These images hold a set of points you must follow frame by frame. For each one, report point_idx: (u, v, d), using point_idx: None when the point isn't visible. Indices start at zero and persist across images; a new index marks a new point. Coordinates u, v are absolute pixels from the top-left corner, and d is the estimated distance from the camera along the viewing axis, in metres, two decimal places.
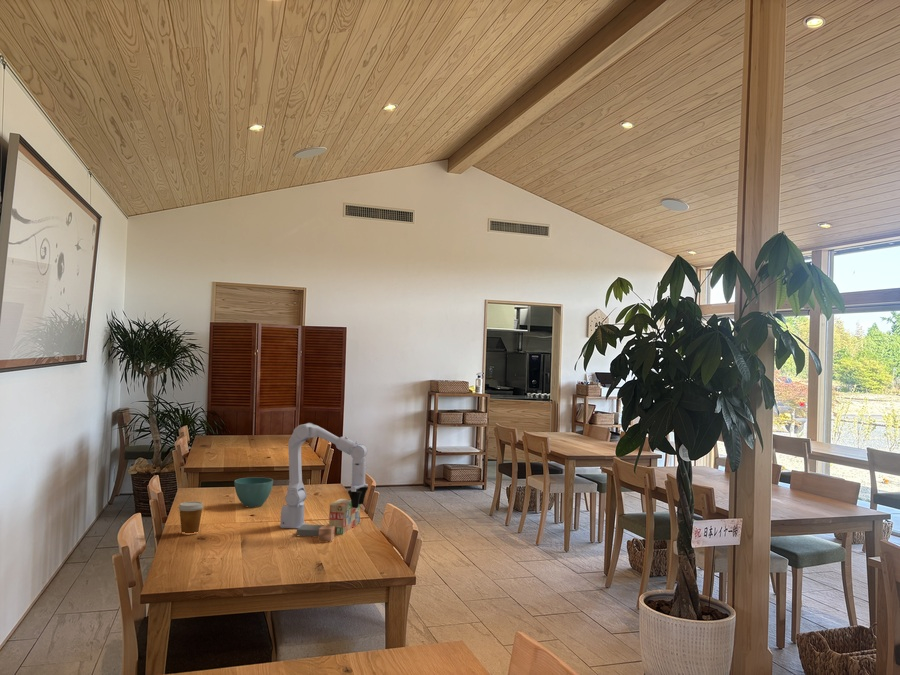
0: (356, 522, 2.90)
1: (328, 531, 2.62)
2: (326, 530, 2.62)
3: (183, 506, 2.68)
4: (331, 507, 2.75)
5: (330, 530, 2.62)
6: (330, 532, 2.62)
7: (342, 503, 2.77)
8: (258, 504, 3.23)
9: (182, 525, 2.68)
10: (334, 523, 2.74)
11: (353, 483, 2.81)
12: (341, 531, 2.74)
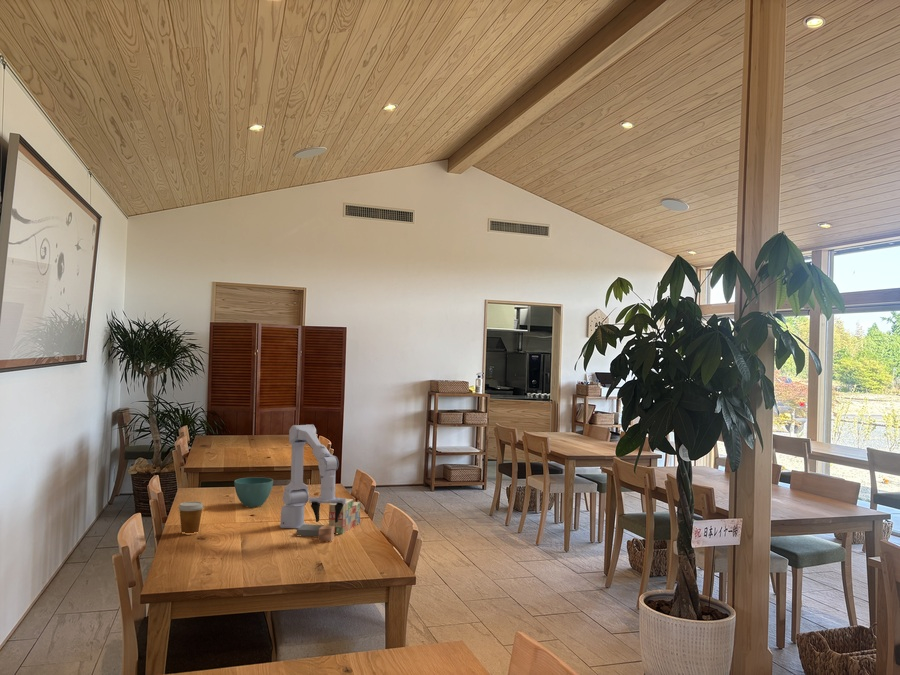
0: (356, 522, 2.90)
1: (328, 531, 2.62)
2: (326, 530, 2.62)
3: (183, 506, 2.68)
4: (331, 507, 2.75)
5: (330, 530, 2.62)
6: (330, 532, 2.62)
7: None
8: (258, 504, 3.23)
9: (182, 525, 2.68)
10: (333, 522, 2.74)
11: None
12: (341, 531, 2.74)
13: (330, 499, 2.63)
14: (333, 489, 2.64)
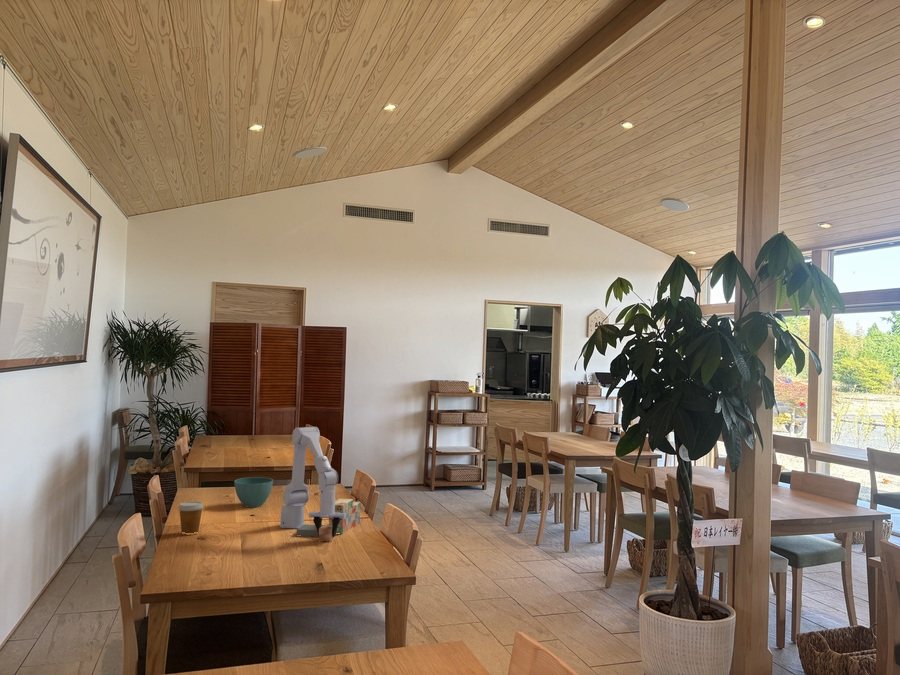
0: (356, 522, 2.90)
1: (328, 531, 2.62)
2: (326, 530, 2.62)
3: (183, 506, 2.68)
4: None
5: (330, 530, 2.62)
6: (330, 532, 2.62)
7: (342, 503, 2.77)
8: (258, 504, 3.23)
9: (182, 525, 2.68)
10: None
11: None
12: (341, 531, 2.74)
13: (330, 514, 2.63)
14: (333, 504, 2.64)
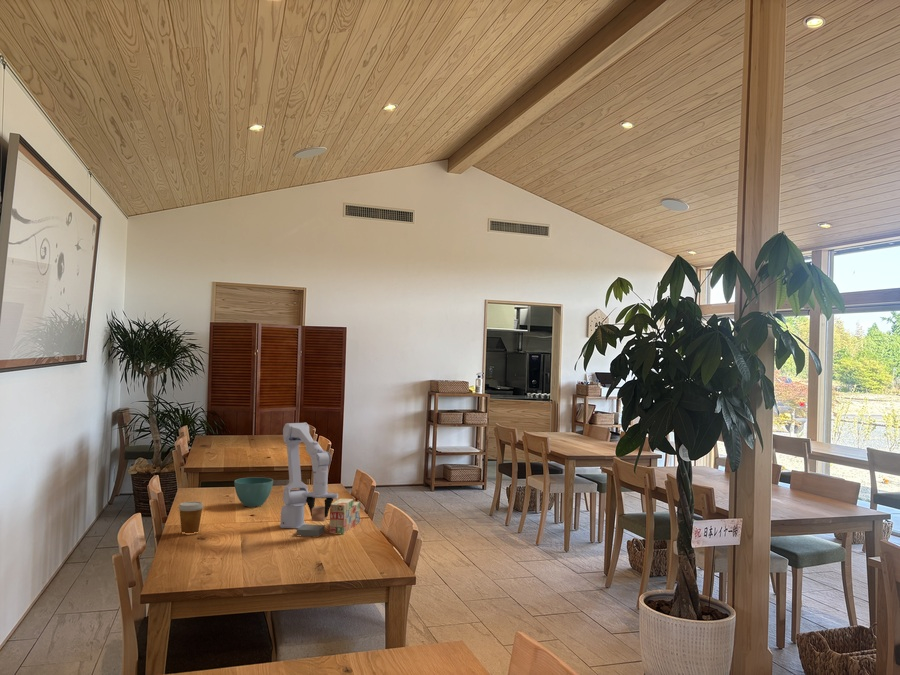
0: (356, 522, 2.90)
1: (321, 511, 2.67)
2: (319, 510, 2.67)
3: (183, 506, 2.68)
4: (331, 507, 2.75)
5: (323, 510, 2.67)
6: (323, 512, 2.67)
7: (342, 503, 2.78)
8: (258, 504, 3.23)
9: (182, 525, 2.68)
10: (334, 522, 2.75)
11: None
12: (342, 531, 2.74)
13: (322, 494, 2.68)
14: (325, 484, 2.69)
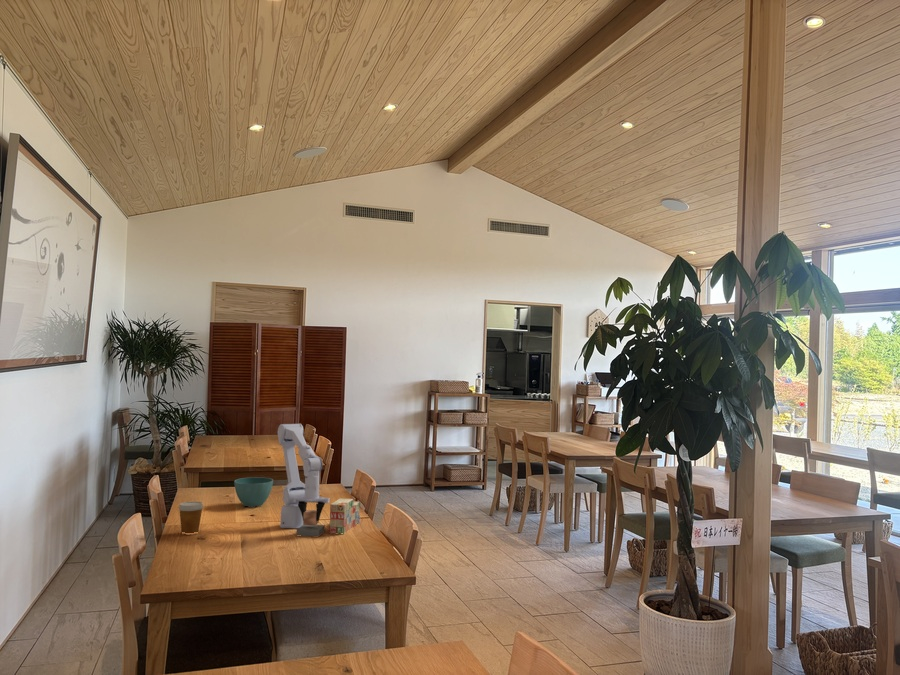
0: (356, 522, 2.90)
1: (312, 515, 2.72)
2: (310, 514, 2.72)
3: (183, 506, 2.68)
4: (332, 507, 2.75)
5: (314, 514, 2.72)
6: (314, 516, 2.72)
7: (343, 503, 2.78)
8: (258, 504, 3.23)
9: (182, 525, 2.68)
10: (334, 522, 2.75)
11: None
12: (342, 531, 2.74)
13: (314, 498, 2.72)
14: (317, 489, 2.74)
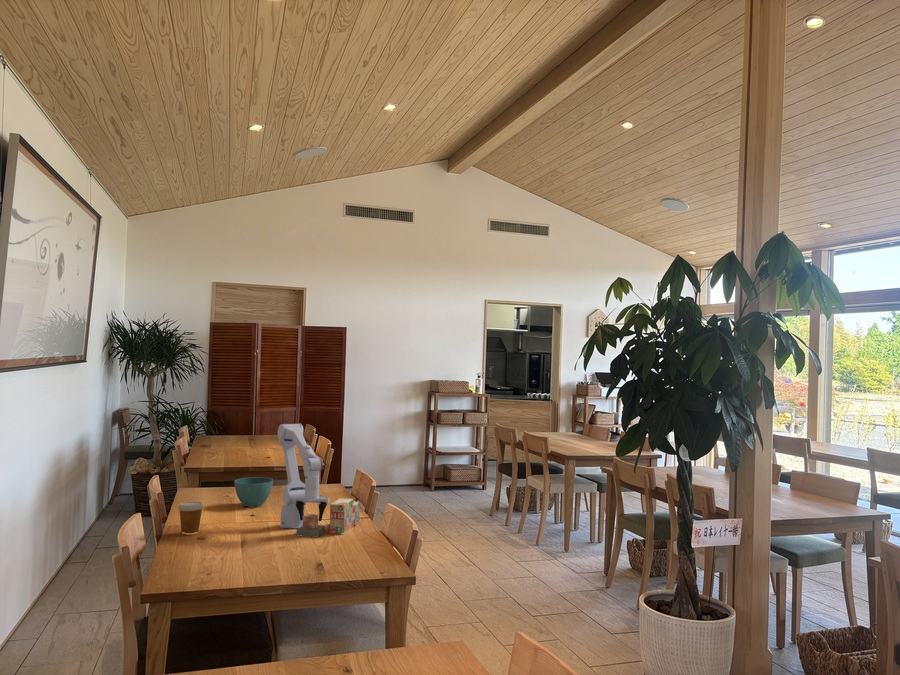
0: (356, 522, 2.91)
1: (311, 518, 2.72)
2: (310, 517, 2.72)
3: (183, 506, 2.68)
4: (332, 507, 2.76)
5: (313, 517, 2.72)
6: (313, 519, 2.72)
7: (343, 503, 2.78)
8: (258, 504, 3.23)
9: (182, 525, 2.68)
10: (334, 522, 2.75)
11: None
12: (342, 531, 2.75)
13: (314, 498, 2.72)
14: (317, 489, 2.74)
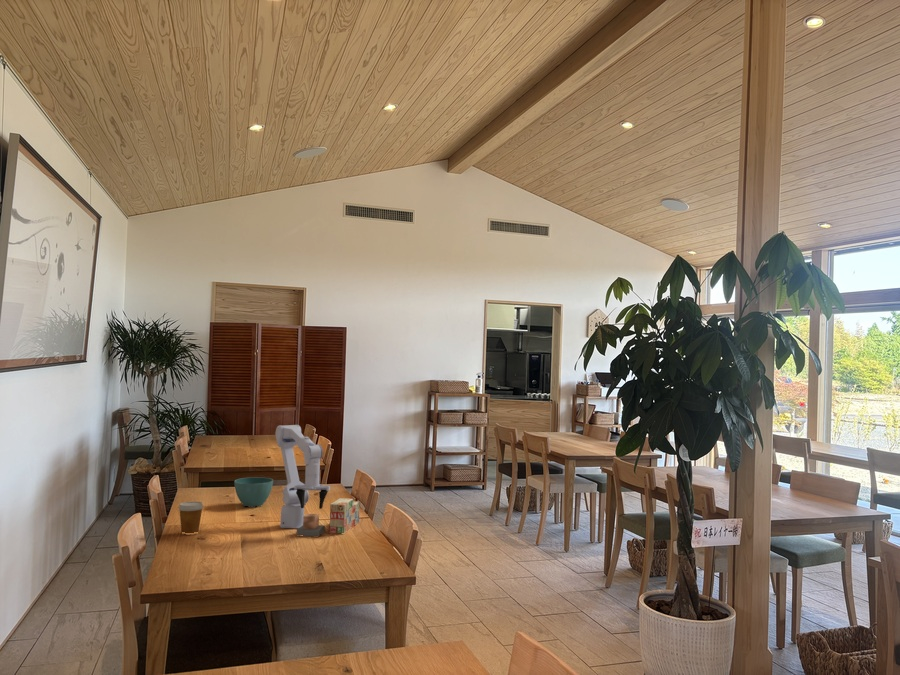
0: (356, 521, 2.91)
1: (312, 518, 2.72)
2: (310, 517, 2.72)
3: (183, 506, 2.68)
4: (332, 507, 2.76)
5: (314, 517, 2.72)
6: (314, 519, 2.72)
7: (343, 503, 2.78)
8: (258, 504, 3.23)
9: (182, 525, 2.68)
10: (334, 522, 2.75)
11: None
12: (342, 530, 2.75)
13: (314, 486, 2.73)
14: (317, 476, 2.74)
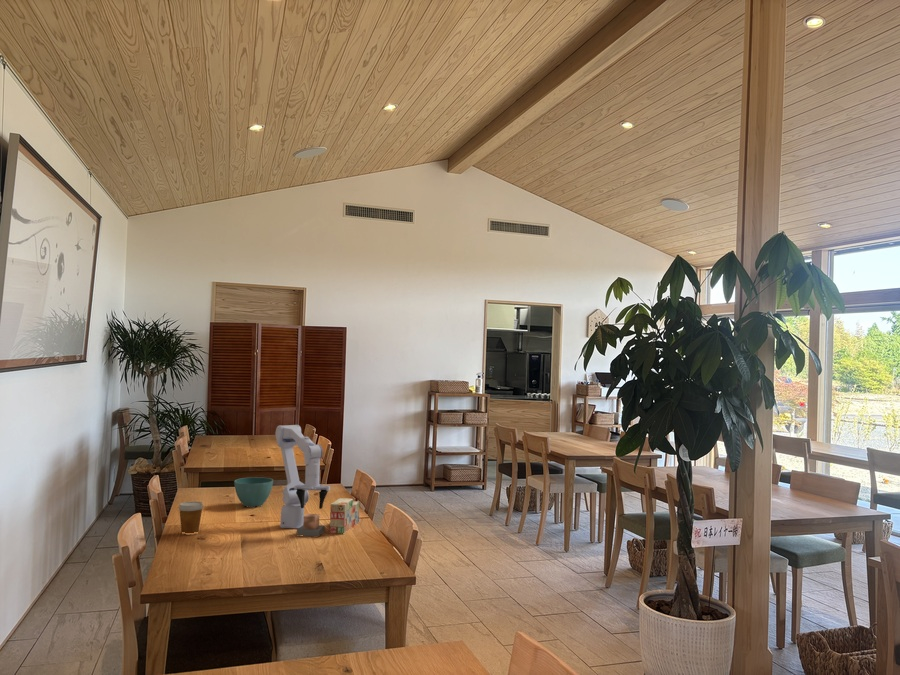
0: (356, 521, 2.91)
1: (312, 518, 2.72)
2: (310, 517, 2.72)
3: (183, 506, 2.68)
4: (332, 507, 2.76)
5: (314, 518, 2.72)
6: (314, 519, 2.72)
7: (343, 502, 2.78)
8: (258, 504, 3.23)
9: (182, 525, 2.68)
10: (335, 522, 2.75)
11: None
12: (342, 530, 2.75)
13: (314, 486, 2.73)
14: (317, 476, 2.74)
